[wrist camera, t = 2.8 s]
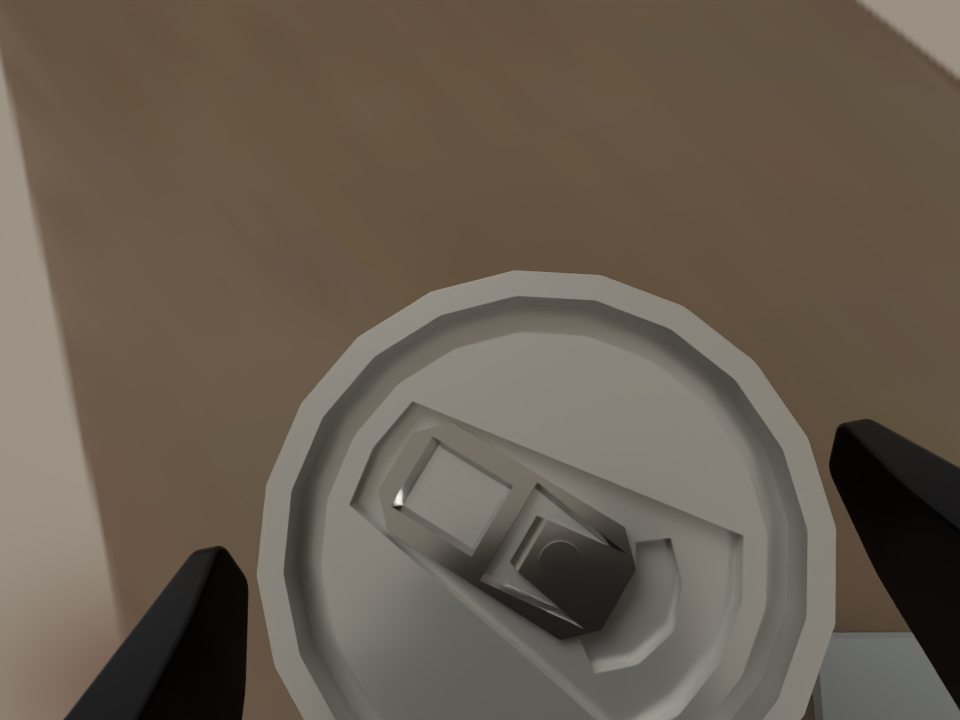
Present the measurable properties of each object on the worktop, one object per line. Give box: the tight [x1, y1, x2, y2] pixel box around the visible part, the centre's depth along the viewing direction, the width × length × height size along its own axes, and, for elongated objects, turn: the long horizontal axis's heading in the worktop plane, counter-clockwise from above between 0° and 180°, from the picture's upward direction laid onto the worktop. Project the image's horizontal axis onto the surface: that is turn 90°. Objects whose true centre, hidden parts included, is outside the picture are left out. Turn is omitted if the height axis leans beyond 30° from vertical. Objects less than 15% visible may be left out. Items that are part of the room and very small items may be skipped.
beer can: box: [257, 270, 836, 720], centre depth 12 cm, size 5×5×12 cm
